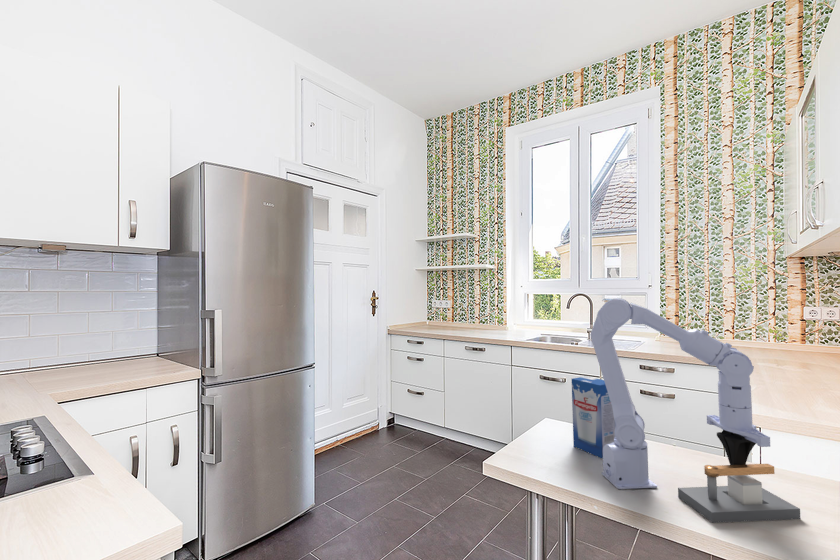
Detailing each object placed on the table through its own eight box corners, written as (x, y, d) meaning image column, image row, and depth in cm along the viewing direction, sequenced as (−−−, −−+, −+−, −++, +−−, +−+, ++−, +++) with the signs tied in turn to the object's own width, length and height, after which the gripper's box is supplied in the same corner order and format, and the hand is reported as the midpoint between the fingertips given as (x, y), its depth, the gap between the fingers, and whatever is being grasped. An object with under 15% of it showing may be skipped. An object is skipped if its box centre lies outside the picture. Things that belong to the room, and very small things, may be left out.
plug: (743, 512, 83) (742, 483, 83) (728, 502, 87) (727, 474, 87) (762, 512, 83) (761, 482, 83) (746, 501, 87) (745, 473, 87)
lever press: (712, 522, 80) (711, 487, 80) (678, 496, 90) (677, 465, 90) (800, 518, 80) (798, 484, 80) (756, 493, 90) (755, 463, 90)
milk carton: (573, 446, 119) (571, 378, 120) (588, 442, 122) (585, 376, 123) (602, 458, 111) (599, 385, 111) (617, 454, 113) (614, 382, 114)
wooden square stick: (710, 477, 84) (710, 470, 84) (701, 472, 86) (701, 465, 86) (776, 474, 84) (776, 467, 84) (766, 469, 87) (765, 462, 87)
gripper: (783, 414, 81) (786, 482, 81) (726, 395, 96) (728, 453, 95) (749, 415, 81) (752, 484, 80) (697, 396, 95) (699, 455, 95)
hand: (737, 468), depth 88 cm, fingers closed
